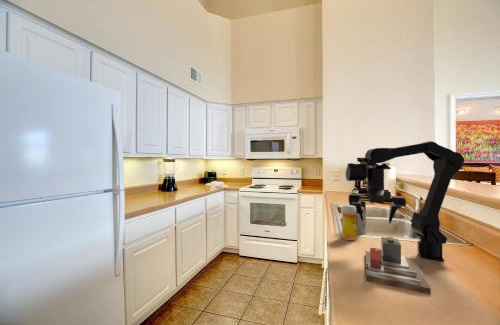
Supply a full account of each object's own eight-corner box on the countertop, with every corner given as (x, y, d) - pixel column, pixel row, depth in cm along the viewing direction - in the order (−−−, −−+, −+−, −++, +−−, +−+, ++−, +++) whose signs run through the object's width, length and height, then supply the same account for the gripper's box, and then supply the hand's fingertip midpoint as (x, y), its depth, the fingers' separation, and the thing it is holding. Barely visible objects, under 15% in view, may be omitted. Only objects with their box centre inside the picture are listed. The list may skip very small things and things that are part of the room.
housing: (397, 256, 78) (397, 236, 78) (401, 264, 72) (400, 242, 72) (381, 253, 81) (381, 234, 81) (382, 261, 74) (382, 239, 74)
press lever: (382, 270, 68) (382, 248, 69) (383, 275, 65) (383, 253, 65) (368, 267, 70) (368, 246, 70) (368, 272, 67) (368, 250, 67)
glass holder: (363, 229, 118) (363, 200, 119) (374, 238, 104) (374, 205, 105) (345, 228, 120) (345, 200, 120) (354, 237, 106) (354, 205, 106)
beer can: (358, 241, 100) (357, 207, 100) (343, 240, 101) (343, 206, 101) (354, 237, 106) (354, 205, 106) (340, 236, 107) (340, 204, 107)
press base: (414, 263, 78) (414, 255, 78) (430, 294, 59) (430, 283, 59) (365, 255, 85) (365, 247, 85) (366, 280, 66) (366, 271, 66)
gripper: (347, 181, 83) (347, 224, 83) (408, 183, 75) (409, 230, 75) (349, 179, 93) (349, 217, 93) (403, 181, 85) (403, 223, 85)
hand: (375, 222), depth 86 cm, fingers open, 9 cm apart
